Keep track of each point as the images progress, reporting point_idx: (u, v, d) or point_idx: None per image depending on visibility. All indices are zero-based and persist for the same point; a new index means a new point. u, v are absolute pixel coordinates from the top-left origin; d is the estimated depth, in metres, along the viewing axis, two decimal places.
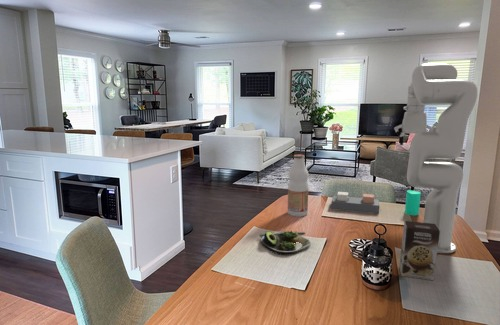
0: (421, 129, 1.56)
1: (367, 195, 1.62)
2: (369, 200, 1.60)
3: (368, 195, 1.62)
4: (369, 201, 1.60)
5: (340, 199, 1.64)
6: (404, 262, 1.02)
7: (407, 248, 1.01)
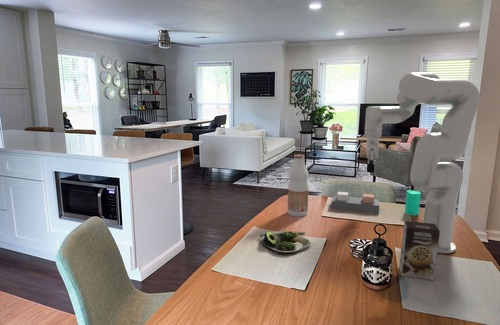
0: None
1: (367, 195, 1.62)
2: (369, 200, 1.60)
3: (368, 195, 1.62)
4: (369, 201, 1.60)
5: (340, 199, 1.64)
6: (404, 262, 1.02)
7: (407, 248, 1.01)
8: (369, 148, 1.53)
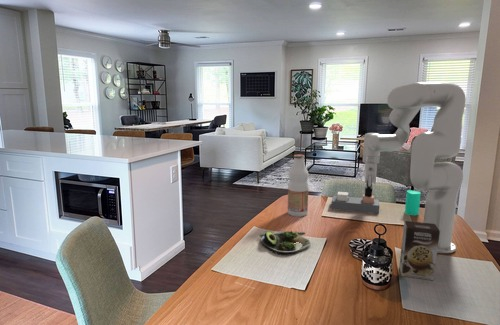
0: None
1: (367, 196, 1.62)
2: (369, 201, 1.60)
3: None
4: (369, 201, 1.60)
5: (340, 199, 1.64)
6: (404, 262, 1.02)
7: (407, 248, 1.01)
8: (367, 174, 1.56)
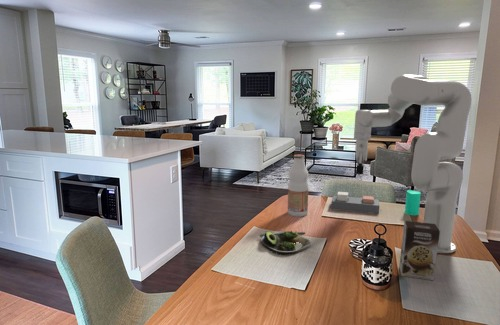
0: None
1: (367, 197, 1.63)
2: (369, 202, 1.60)
3: (368, 197, 1.63)
4: None
5: (340, 199, 1.64)
6: (404, 262, 1.02)
7: (407, 248, 1.01)
8: (358, 151, 1.55)
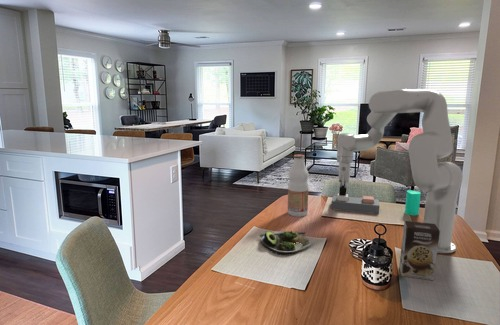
0: None
1: (367, 197, 1.63)
2: (369, 202, 1.60)
3: (368, 197, 1.63)
4: None
5: None
6: (404, 262, 1.02)
7: (407, 248, 1.01)
8: (340, 174, 1.60)
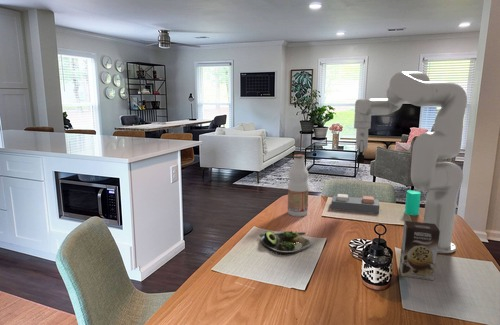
0: None
1: (367, 197, 1.63)
2: (369, 202, 1.60)
3: (368, 197, 1.63)
4: None
5: None
6: (404, 262, 1.02)
7: (407, 248, 1.01)
8: (359, 140, 1.58)
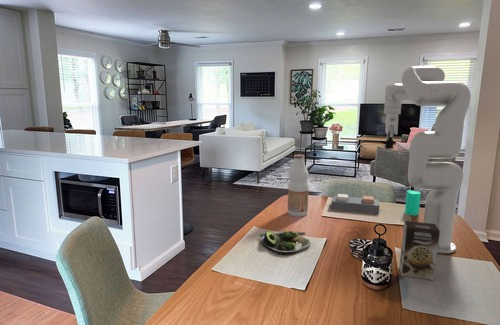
0: None
1: (367, 197, 1.63)
2: (369, 202, 1.60)
3: (368, 197, 1.63)
4: None
5: None
6: (404, 262, 1.02)
7: (407, 248, 1.01)
8: (389, 125, 1.59)
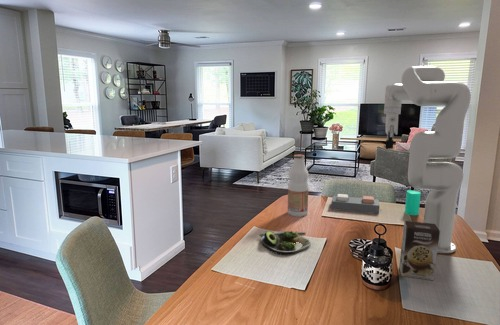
0: None
1: (367, 197, 1.63)
2: (369, 202, 1.60)
3: (368, 197, 1.63)
4: None
5: None
6: (404, 262, 1.02)
7: (407, 248, 1.01)
8: (389, 125, 1.59)
